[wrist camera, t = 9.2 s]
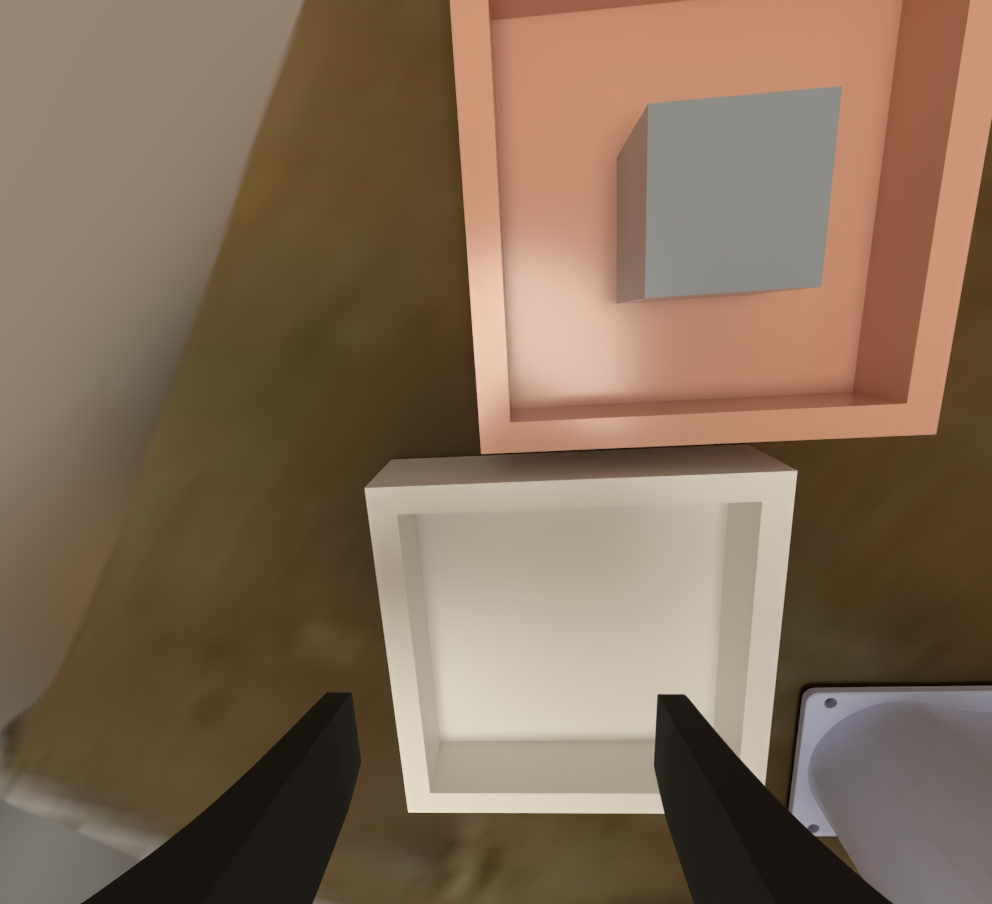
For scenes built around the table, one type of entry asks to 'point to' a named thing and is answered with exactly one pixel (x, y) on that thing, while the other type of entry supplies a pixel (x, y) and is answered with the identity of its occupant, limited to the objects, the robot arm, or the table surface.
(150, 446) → the table surface
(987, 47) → the bin
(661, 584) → the tub
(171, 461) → the table surface
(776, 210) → the gray cube
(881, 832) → the robot arm
